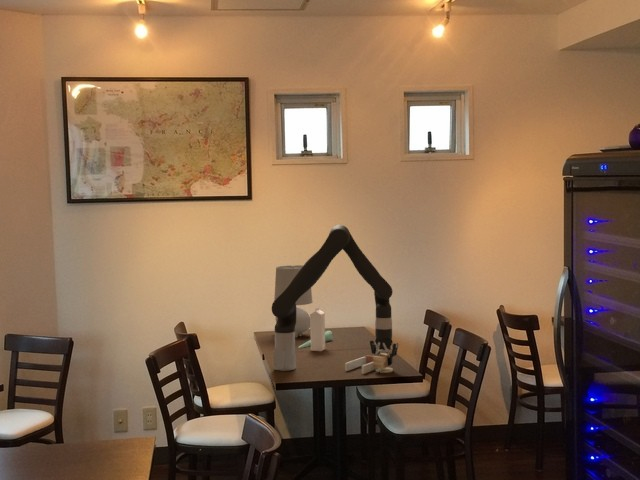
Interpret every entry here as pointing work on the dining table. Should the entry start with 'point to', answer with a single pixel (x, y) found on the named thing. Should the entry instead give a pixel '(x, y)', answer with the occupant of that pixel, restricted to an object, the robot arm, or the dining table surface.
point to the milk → (317, 330)
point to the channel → (361, 364)
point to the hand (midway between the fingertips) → (384, 364)
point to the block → (380, 361)
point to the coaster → (384, 370)
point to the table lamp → (302, 318)
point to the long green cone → (327, 338)
